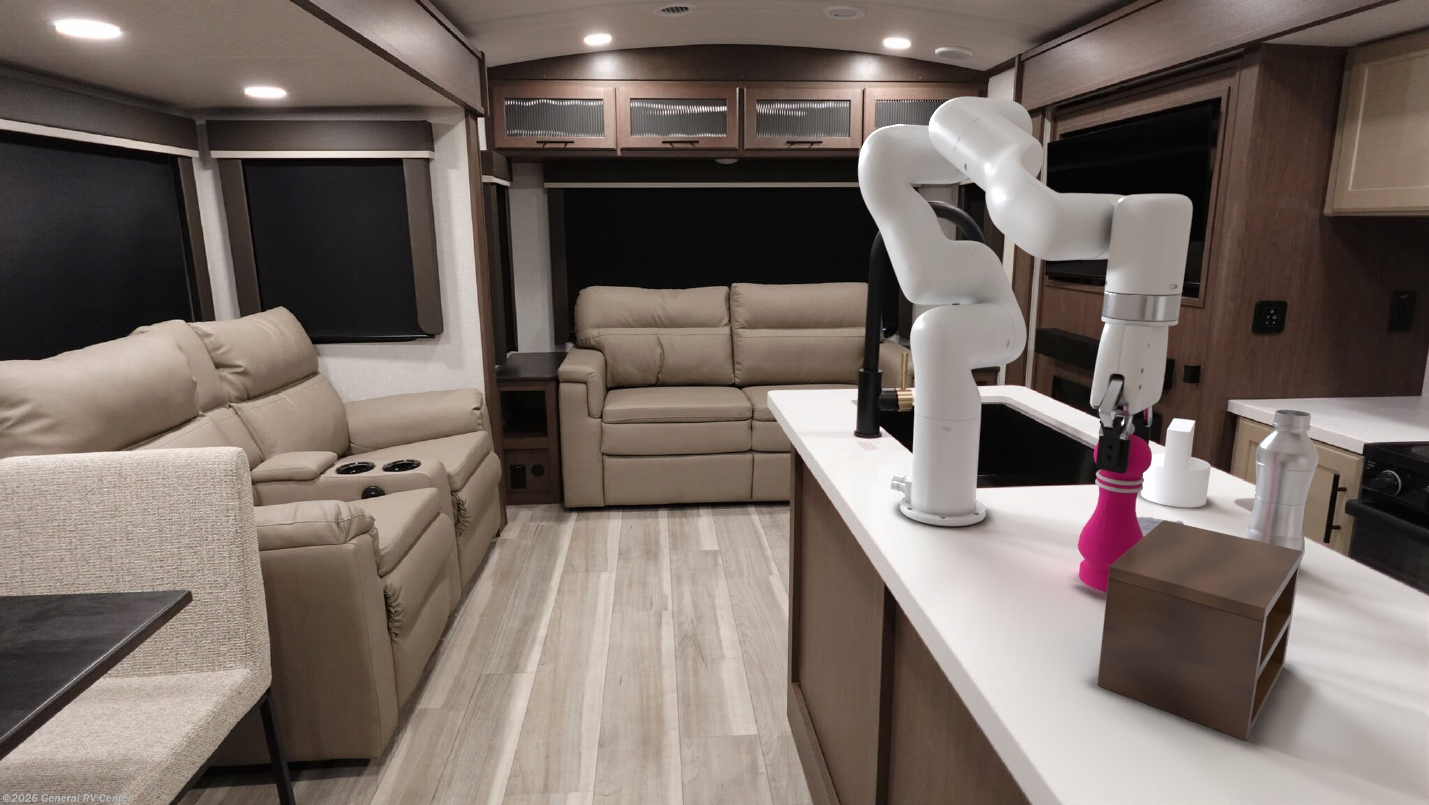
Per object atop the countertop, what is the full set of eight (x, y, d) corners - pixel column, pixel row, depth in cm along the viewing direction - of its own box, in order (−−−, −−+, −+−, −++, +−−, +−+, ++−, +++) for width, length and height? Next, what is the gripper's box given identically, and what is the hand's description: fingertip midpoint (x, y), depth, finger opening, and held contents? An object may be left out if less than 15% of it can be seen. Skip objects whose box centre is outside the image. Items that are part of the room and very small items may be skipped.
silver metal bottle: (1235, 566, 99) (1256, 414, 95) (1245, 550, 104) (1266, 404, 100) (1297, 581, 95) (1322, 422, 91) (1305, 564, 100) (1329, 412, 96)
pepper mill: (1138, 601, 89) (1161, 432, 85) (1070, 586, 93) (1088, 423, 88) (1143, 577, 95) (1164, 418, 91) (1078, 563, 99) (1096, 410, 94)
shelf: (1097, 685, 74) (1109, 566, 72) (1151, 625, 85) (1163, 519, 83) (1245, 741, 66) (1265, 608, 63) (1284, 666, 77) (1302, 550, 74)
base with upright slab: (1145, 485, 131) (1153, 415, 128) (1208, 495, 126) (1217, 422, 123) (1137, 500, 124) (1144, 427, 121) (1203, 511, 119) (1213, 435, 116)
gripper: (1130, 300, 95) (1113, 442, 99) (1075, 313, 83) (1058, 474, 87) (1200, 305, 90) (1179, 455, 94) (1152, 319, 78) (1130, 490, 82)
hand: (1121, 462), depth 91 cm, fingers closed on pepper mill, 6 cm apart
